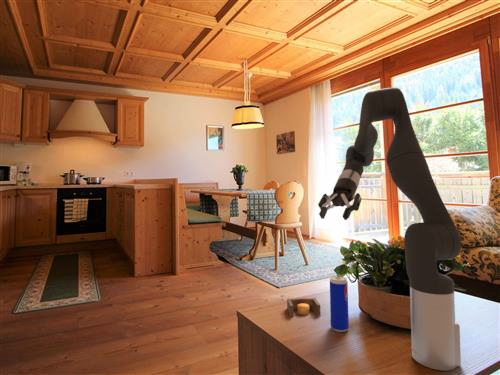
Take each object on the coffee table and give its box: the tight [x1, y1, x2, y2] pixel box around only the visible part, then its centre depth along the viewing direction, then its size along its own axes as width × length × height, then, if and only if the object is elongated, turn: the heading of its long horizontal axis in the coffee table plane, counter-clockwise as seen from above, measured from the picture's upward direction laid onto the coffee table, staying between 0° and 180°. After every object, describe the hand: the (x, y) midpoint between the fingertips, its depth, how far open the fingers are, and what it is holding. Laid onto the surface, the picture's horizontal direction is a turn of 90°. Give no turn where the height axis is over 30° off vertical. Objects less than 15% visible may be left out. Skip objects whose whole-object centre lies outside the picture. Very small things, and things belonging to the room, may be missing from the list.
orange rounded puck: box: [296, 303, 310, 316], centre depth 103 cm, size 4×4×2 cm
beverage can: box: [329, 275, 350, 333], centre depth 90 cm, size 5×5×15 cm
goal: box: [286, 297, 321, 318], centre depth 103 cm, size 10×7×4 cm
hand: (332, 217), depth 102 cm, fingers open, 8 cm apart
